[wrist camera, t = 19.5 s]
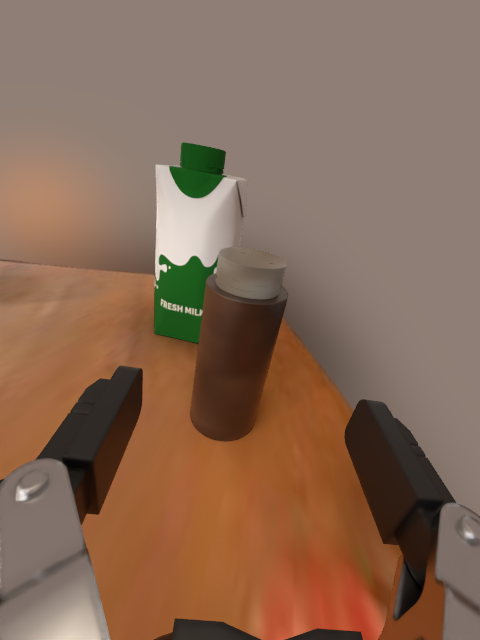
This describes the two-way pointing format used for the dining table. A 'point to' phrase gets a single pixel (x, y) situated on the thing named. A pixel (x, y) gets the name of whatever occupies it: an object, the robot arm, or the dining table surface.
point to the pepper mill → (236, 341)
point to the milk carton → (192, 235)
